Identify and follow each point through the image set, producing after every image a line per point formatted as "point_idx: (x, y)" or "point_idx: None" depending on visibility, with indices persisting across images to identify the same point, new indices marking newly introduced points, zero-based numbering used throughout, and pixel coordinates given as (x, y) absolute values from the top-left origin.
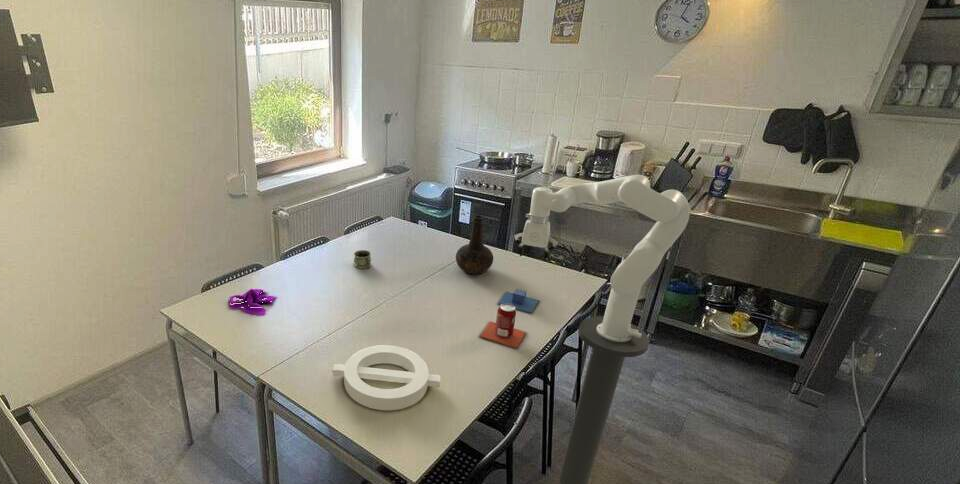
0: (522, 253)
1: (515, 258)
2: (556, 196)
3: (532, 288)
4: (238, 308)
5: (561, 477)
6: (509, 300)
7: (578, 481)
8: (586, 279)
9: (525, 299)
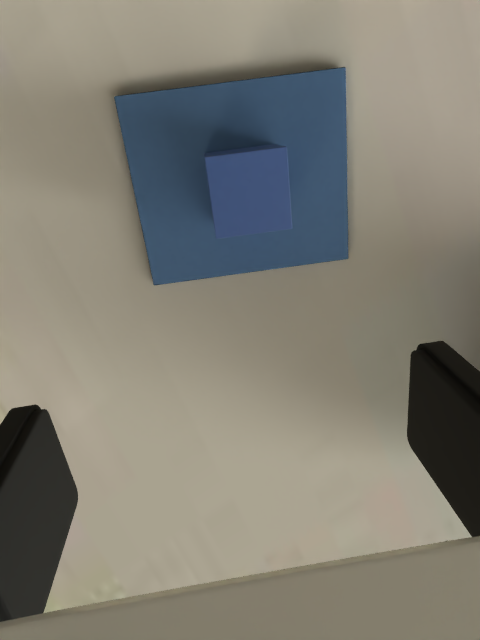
0: (423, 409)
1: None
2: None
3: (243, 392)
4: None
5: None
6: (296, 158)
7: None
8: (82, 603)
9: (219, 239)
